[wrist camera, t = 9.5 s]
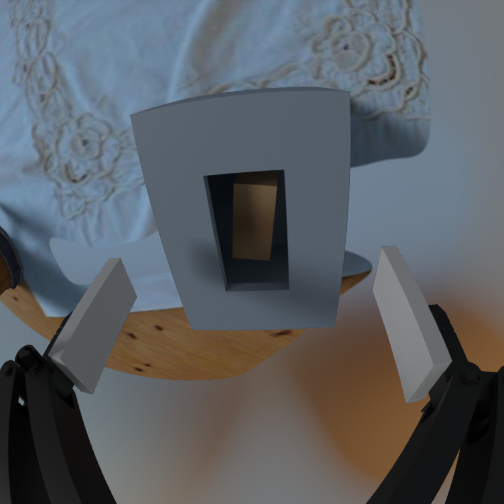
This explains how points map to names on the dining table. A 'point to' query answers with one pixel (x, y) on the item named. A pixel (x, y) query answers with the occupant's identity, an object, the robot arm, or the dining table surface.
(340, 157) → the coin box
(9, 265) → the mug
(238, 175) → the brown wooden block
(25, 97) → the dining table surface
